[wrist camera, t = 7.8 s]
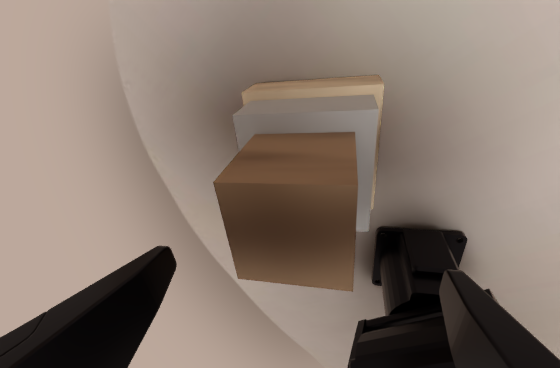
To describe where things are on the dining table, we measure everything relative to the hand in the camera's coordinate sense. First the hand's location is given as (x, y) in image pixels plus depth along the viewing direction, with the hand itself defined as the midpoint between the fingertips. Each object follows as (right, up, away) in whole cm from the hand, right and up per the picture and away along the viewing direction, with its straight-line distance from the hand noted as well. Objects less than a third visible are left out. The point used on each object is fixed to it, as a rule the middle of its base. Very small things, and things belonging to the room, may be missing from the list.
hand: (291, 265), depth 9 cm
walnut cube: (+1, +3, +6) cm, 7 cm away
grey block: (+2, +5, +8) cm, 10 cm away
